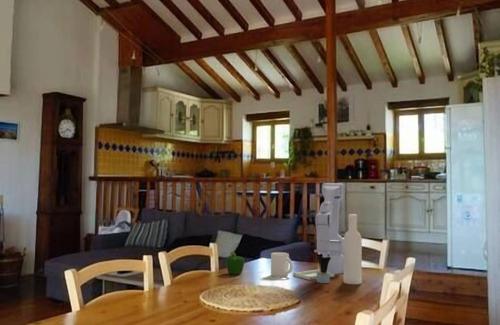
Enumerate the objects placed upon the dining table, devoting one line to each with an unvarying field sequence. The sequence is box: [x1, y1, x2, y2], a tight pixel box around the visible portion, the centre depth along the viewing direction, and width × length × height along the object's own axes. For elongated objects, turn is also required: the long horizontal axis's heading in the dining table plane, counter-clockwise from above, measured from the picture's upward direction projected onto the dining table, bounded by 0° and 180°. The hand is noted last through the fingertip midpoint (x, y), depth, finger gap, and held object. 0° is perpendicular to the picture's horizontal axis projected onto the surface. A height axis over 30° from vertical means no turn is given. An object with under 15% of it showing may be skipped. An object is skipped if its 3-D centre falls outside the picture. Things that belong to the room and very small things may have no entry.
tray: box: [293, 269, 336, 281], centre depth 213 cm, size 16×11×2 cm
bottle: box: [342, 213, 363, 285], centre depth 201 cm, size 8×8×30 cm
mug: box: [270, 251, 294, 278], centre depth 213 cm, size 12×8×10 cm
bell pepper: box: [225, 252, 245, 275], centre depth 218 cm, size 8×8×10 cm
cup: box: [316, 273, 331, 284], centre depth 201 cm, size 6×6×4 cm
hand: (323, 271), depth 201 cm, fingers open, 4 cm apart
